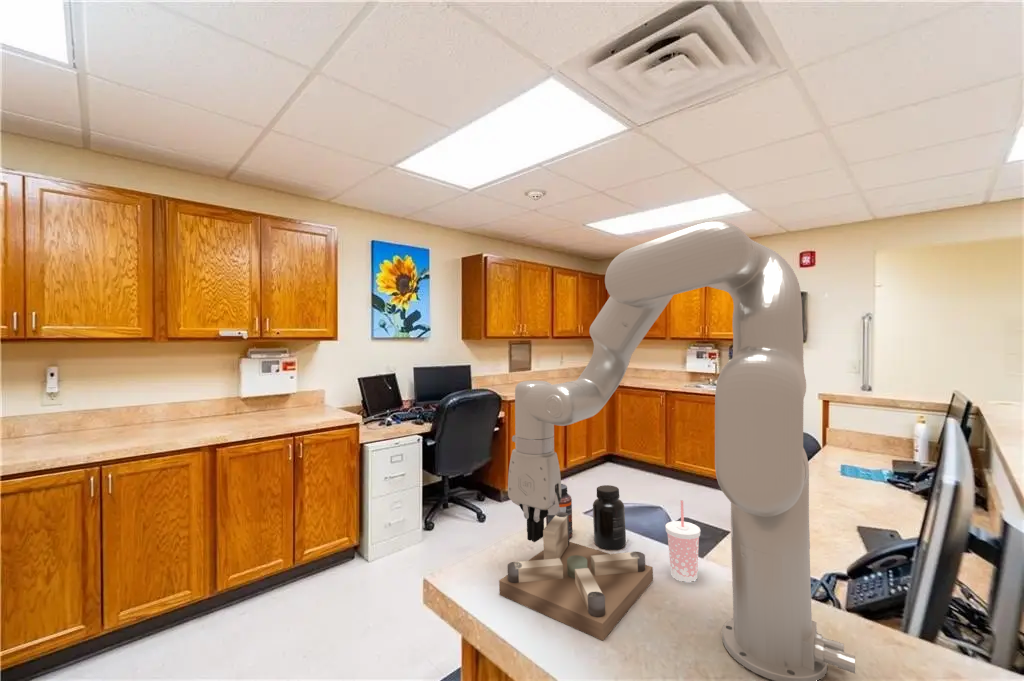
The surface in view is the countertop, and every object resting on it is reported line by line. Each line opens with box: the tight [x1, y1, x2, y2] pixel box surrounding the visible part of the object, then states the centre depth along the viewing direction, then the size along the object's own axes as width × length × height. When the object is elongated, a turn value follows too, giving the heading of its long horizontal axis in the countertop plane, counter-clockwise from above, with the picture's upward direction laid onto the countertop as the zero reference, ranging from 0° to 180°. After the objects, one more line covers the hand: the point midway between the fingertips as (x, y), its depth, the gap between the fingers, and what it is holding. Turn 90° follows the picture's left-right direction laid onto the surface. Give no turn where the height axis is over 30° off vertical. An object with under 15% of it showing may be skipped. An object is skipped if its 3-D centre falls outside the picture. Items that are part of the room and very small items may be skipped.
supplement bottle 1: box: [545, 483, 573, 539], centre depth 99 cm, size 6×6×11 cm
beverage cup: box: [664, 499, 702, 583], centre depth 81 cm, size 6×6×14 cm
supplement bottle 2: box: [592, 484, 627, 551], centre depth 95 cm, size 7×7×12 cm
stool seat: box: [498, 541, 654, 641], centre depth 78 cm, size 20×20×5 cm
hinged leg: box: [542, 512, 570, 560], centre depth 86 cm, size 10×3×6 cm, turn 156°
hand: (535, 538), depth 85 cm, fingers closed
